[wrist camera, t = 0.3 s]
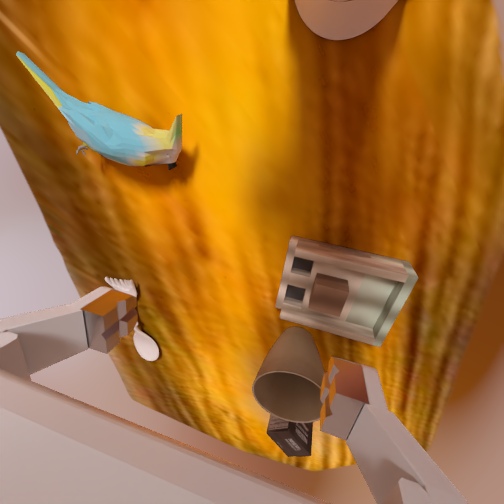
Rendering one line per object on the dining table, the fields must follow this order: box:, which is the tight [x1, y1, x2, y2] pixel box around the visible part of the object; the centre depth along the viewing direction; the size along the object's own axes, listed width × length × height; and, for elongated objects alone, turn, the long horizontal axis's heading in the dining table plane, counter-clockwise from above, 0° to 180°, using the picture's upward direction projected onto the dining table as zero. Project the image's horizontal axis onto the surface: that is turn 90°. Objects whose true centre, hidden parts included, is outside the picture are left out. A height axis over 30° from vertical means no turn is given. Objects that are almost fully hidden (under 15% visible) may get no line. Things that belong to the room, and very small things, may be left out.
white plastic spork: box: [105, 277, 159, 361], centre depth 74 cm, size 9×32×4 cm, turn 4°
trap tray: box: [275, 236, 418, 347], centre depth 49 cm, size 17×22×6 cm
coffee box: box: [267, 414, 313, 457], centre depth 61 cm, size 9×6×16 cm
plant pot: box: [252, 327, 325, 423], centre depth 54 cm, size 15×15×16 cm
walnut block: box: [308, 273, 349, 317], centre depth 48 cm, size 6×6×4 cm
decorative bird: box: [16, 51, 182, 170], centre depth 45 cm, size 14×30×9 cm, turn 72°
